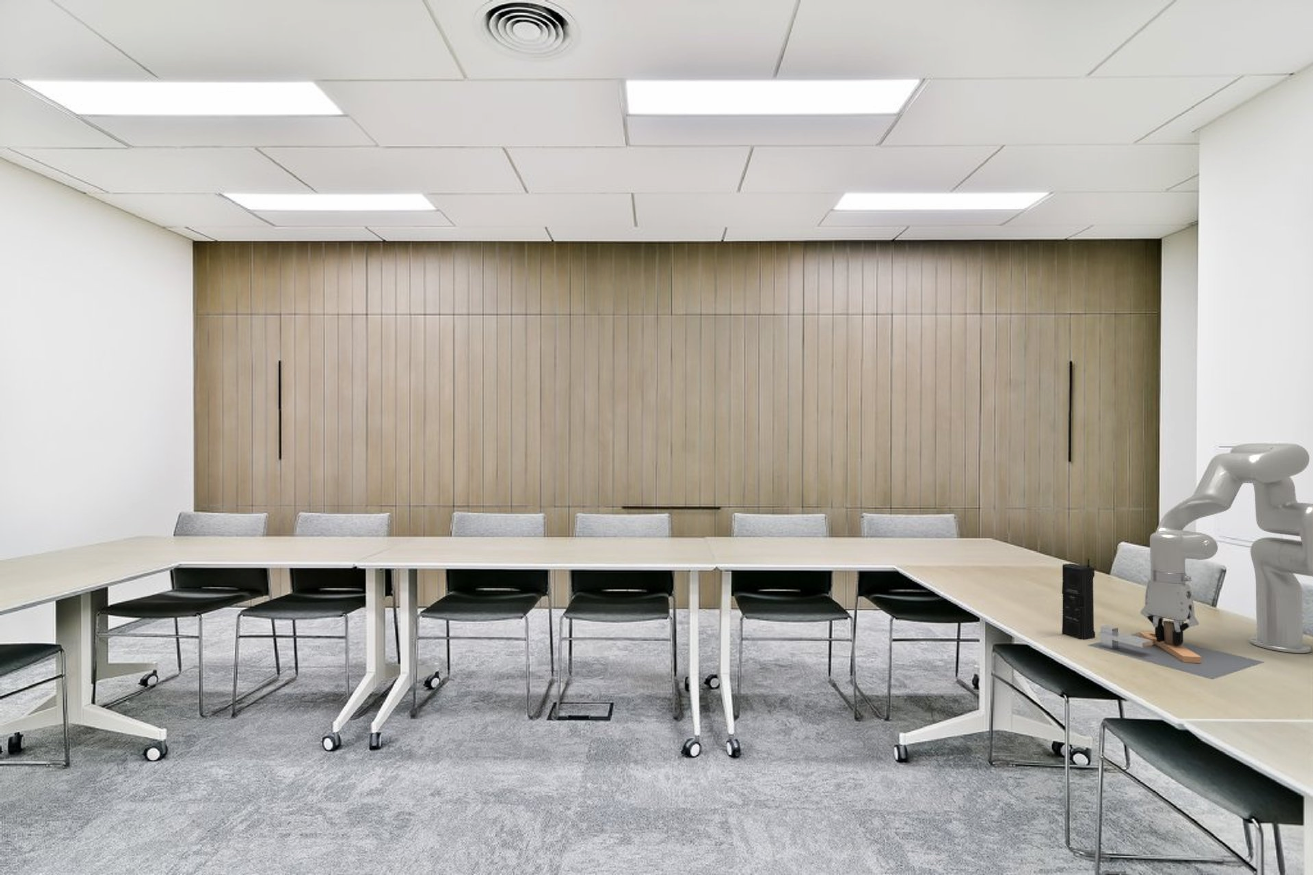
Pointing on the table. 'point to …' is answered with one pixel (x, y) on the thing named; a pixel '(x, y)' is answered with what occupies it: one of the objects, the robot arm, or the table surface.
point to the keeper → (1120, 638)
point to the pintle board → (1210, 667)
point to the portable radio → (1078, 601)
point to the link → (1168, 646)
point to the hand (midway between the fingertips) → (1169, 642)
